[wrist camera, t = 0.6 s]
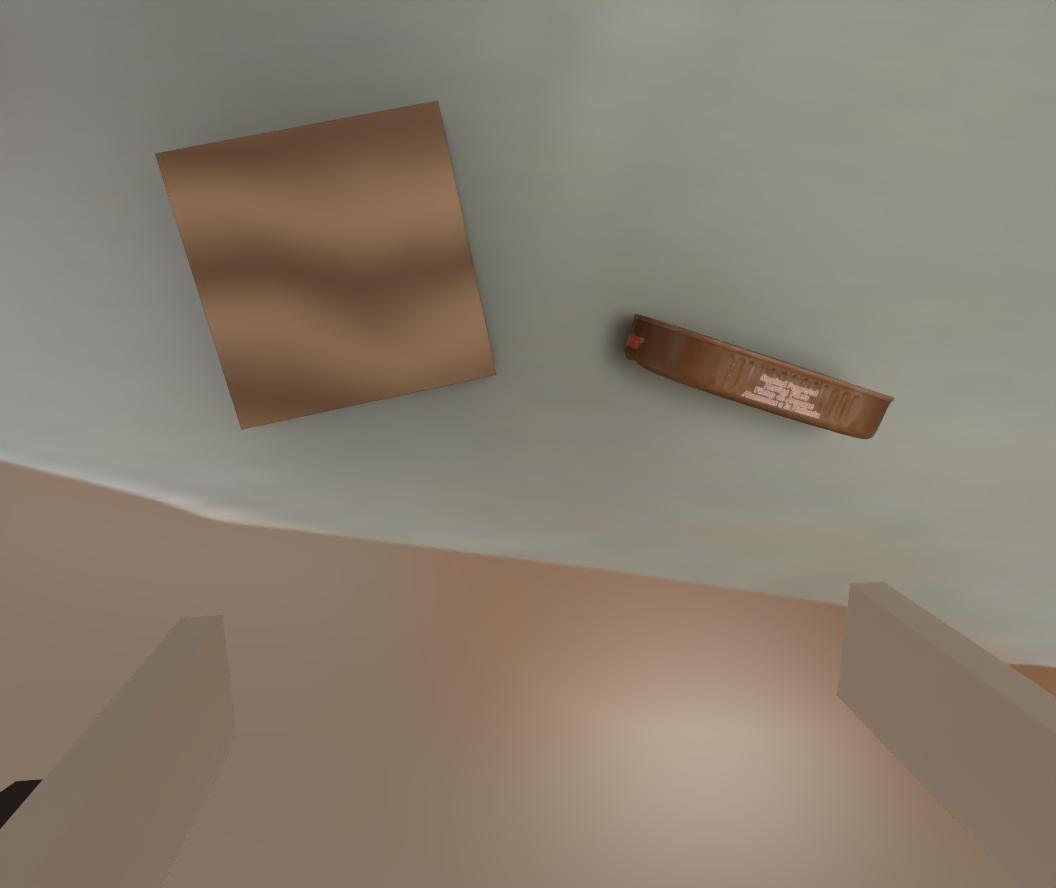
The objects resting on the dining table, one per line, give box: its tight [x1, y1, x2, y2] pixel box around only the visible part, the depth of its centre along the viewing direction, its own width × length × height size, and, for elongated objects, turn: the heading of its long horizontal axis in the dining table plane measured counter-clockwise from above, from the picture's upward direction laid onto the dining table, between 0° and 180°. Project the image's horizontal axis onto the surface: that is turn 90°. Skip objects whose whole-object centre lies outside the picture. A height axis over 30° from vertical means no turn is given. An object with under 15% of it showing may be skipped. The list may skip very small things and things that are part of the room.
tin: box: [625, 314, 894, 439], centre depth 36 cm, size 15×3×8 cm, turn 73°
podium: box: [155, 101, 496, 429], centre depth 35 cm, size 14×14×3 cm
